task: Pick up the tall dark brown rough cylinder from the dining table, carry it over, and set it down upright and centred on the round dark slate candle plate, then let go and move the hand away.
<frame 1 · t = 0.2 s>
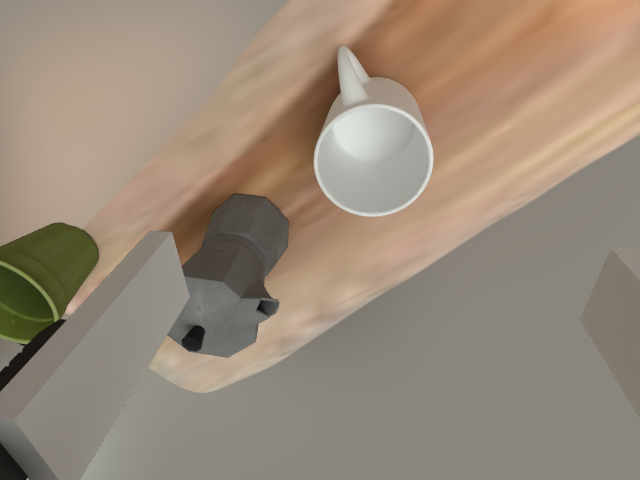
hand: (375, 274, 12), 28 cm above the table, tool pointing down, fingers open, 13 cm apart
plant pot: (73, 243, 51), on the table
mug: (368, 104, 37), on the table
coffeepot: (243, 229, 46), on the table
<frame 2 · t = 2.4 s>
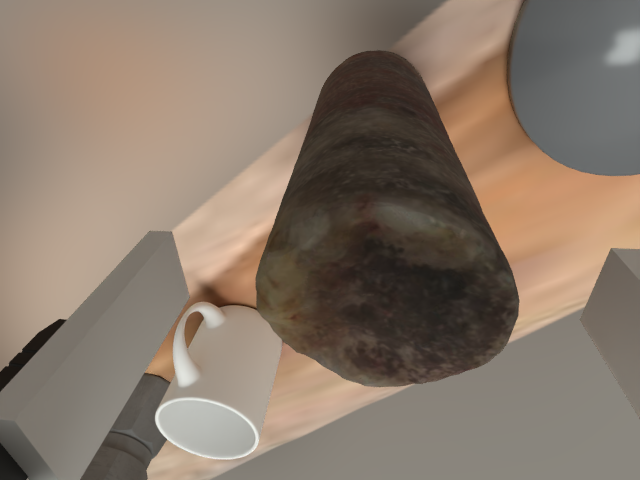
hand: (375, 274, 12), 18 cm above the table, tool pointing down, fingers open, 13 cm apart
mug: (236, 319, 40), on the table
coffeepot: (144, 394, 49), on the table
dark brown rough cylinder: (373, 109, 27), on the table
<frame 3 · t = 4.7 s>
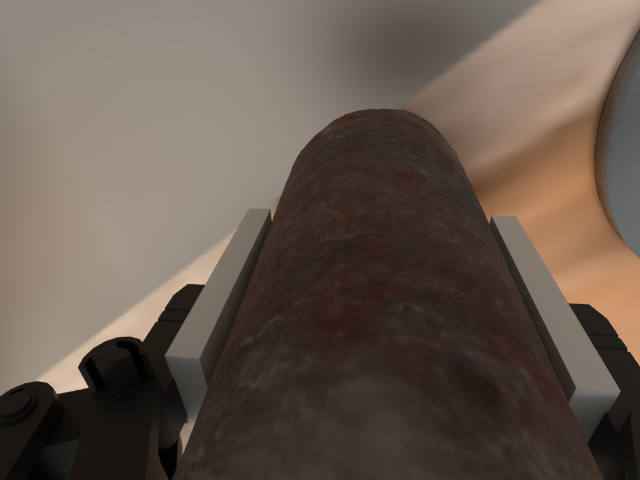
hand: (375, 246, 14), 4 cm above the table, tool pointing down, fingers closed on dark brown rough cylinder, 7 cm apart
dark brown rough cylinder: (376, 192, 17), on the table, touching gripper
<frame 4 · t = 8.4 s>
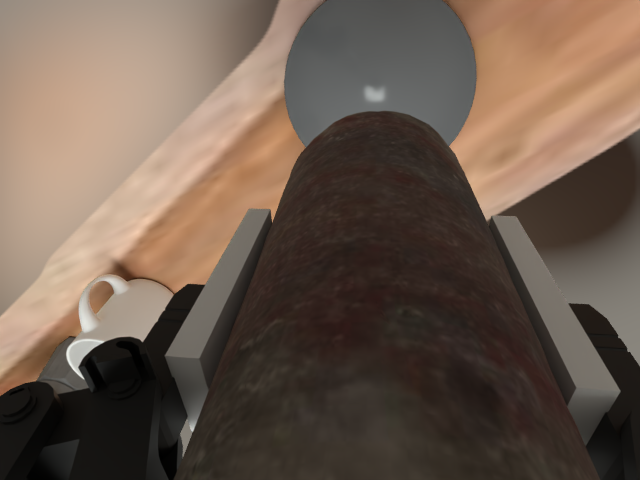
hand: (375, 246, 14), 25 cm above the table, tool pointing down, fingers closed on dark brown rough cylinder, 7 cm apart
mug: (144, 291, 52), on the table
candle plate: (377, 89, 35), on the table
coffeepot: (84, 356, 61), on the table
dark brown rough cylinder: (376, 194, 17), point 21 cm above the table, touching gripper
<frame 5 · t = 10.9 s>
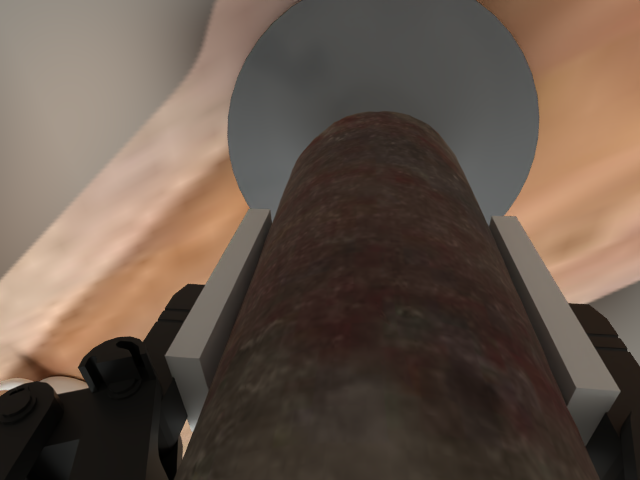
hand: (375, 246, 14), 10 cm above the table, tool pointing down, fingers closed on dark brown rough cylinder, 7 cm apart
mug: (68, 388, 39), on the table
candle plate: (374, 148, 22), on the table
dark brown rough cylinder: (376, 194, 17), point 5 cm above the table, touching gripper
when the fingers open (7 cm above the table, at t = 12.4 s): dark brown rough cylinder drops 2 cm, resting on candle plate.
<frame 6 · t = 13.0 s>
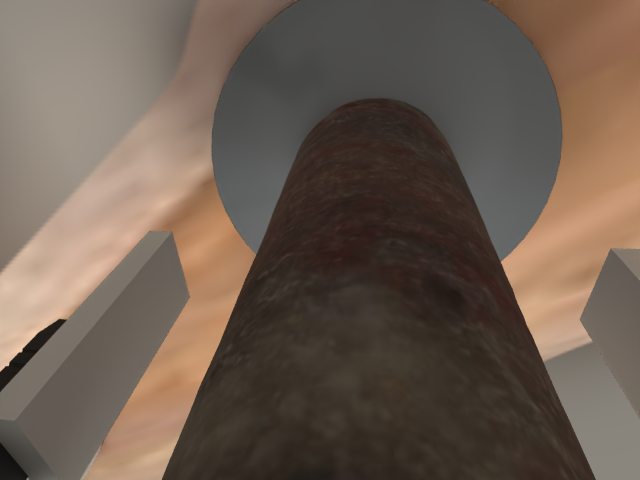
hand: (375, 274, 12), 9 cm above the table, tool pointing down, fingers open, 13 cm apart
candle plate: (375, 168, 20), on the table
dark brown rough cylinder: (374, 177, 19), point 1 cm above the table, touching candle plate
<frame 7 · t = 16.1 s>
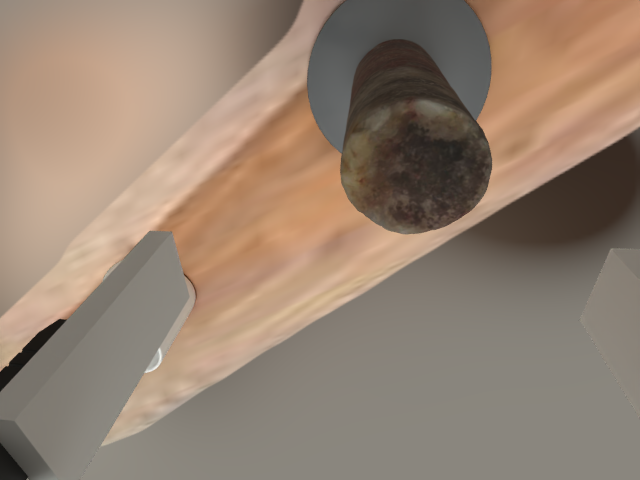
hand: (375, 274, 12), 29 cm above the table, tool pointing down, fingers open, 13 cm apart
mug: (161, 277, 53), on the table
candle plate: (395, 83, 36), on the table
dark brown rough cylinder: (395, 85, 35), point 1 cm above the table, touching candle plate
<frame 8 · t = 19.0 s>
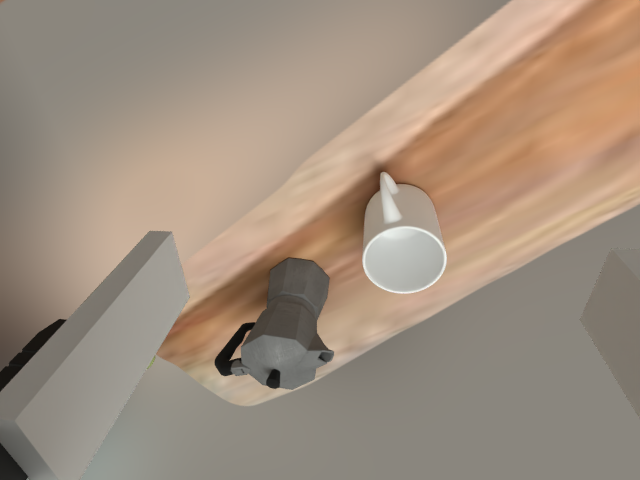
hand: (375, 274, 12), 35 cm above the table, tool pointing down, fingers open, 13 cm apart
mug: (395, 200, 49), on the table
coffeepot: (293, 282, 59), on the table
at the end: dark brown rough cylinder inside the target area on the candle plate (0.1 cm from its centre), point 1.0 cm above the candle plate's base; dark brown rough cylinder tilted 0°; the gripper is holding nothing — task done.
